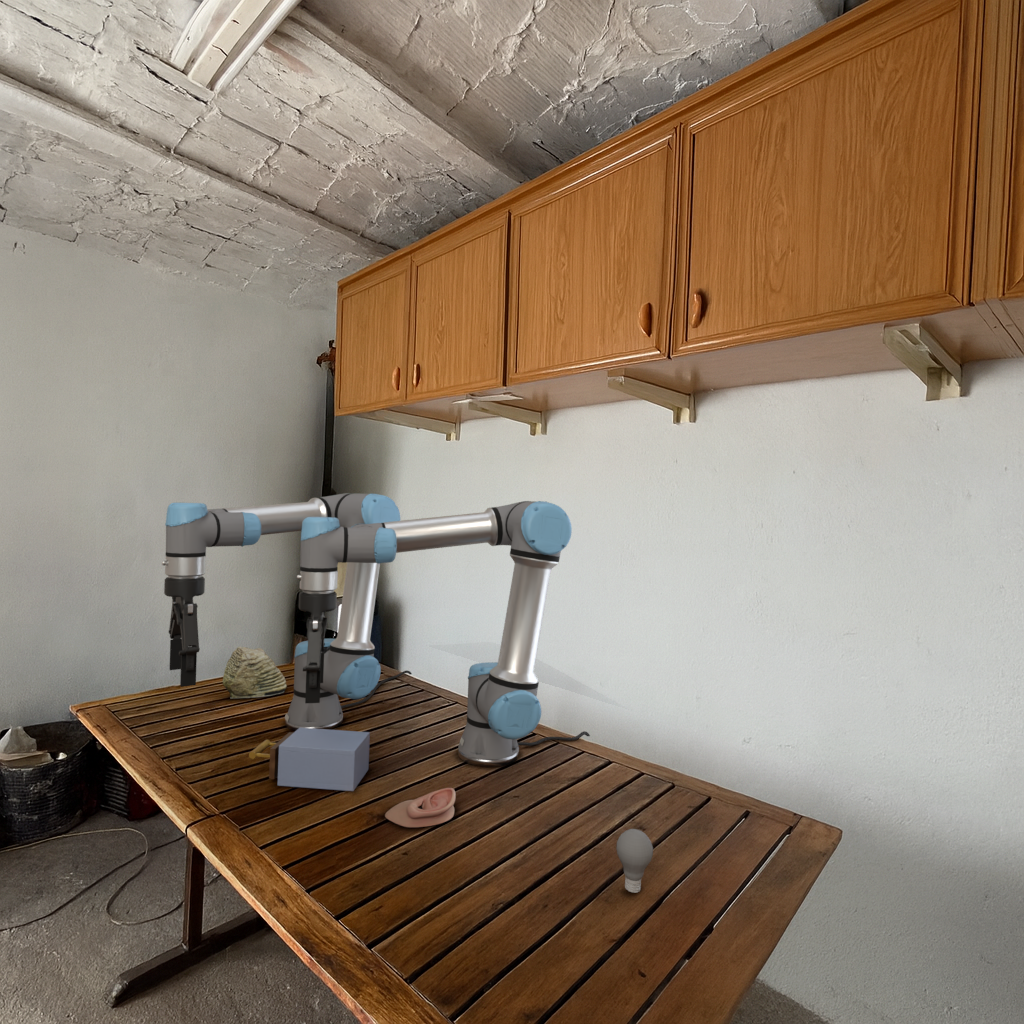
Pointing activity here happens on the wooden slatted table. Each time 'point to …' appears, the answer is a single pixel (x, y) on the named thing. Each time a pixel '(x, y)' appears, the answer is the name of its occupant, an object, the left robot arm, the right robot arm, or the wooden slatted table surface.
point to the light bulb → (634, 857)
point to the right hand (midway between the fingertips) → (314, 692)
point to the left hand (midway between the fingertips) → (182, 677)
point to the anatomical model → (424, 809)
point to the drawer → (273, 754)
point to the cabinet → (323, 759)
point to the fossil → (252, 674)
